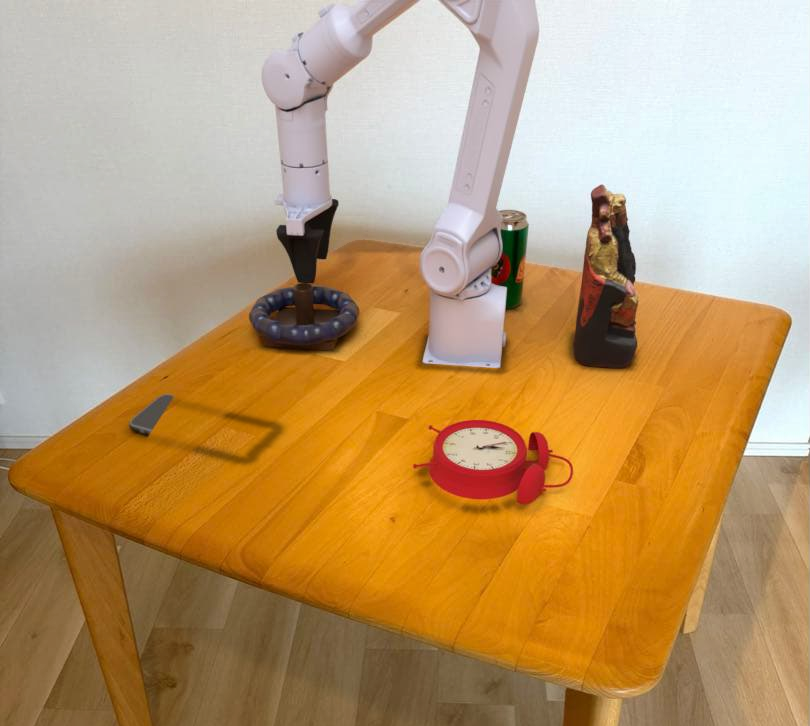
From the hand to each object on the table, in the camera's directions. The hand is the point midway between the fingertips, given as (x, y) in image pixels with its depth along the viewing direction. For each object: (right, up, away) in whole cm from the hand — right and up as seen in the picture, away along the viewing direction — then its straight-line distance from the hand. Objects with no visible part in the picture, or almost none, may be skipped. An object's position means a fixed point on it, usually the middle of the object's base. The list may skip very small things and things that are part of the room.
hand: (312, 269), depth 111 cm
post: (-1, -8, 0) cm, 8 cm away
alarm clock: (+21, -29, -25) cm, 44 cm away
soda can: (+26, -3, +6) cm, 27 cm away
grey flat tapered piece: (-10, -23, -18) cm, 31 cm away
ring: (-1, -6, -2) cm, 6 cm away
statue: (+37, -11, -3) cm, 39 cm away
